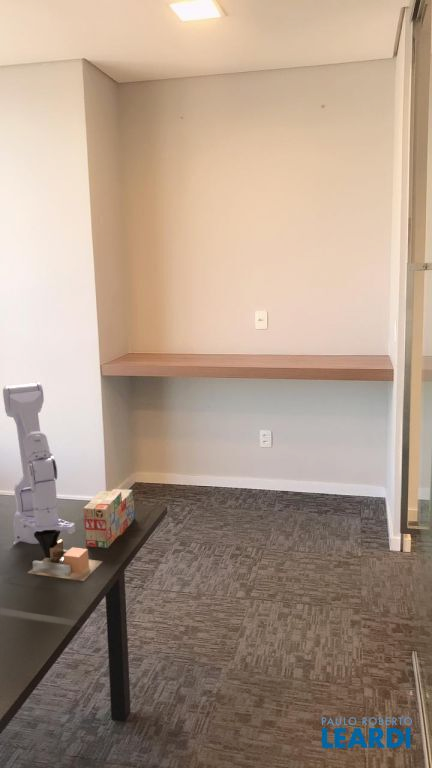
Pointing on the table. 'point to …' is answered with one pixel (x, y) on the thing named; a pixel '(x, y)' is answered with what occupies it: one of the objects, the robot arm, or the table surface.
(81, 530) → the table surface
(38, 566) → the channel deck
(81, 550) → the terracotta block
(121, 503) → the stack of blocks
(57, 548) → the sliding carriage
